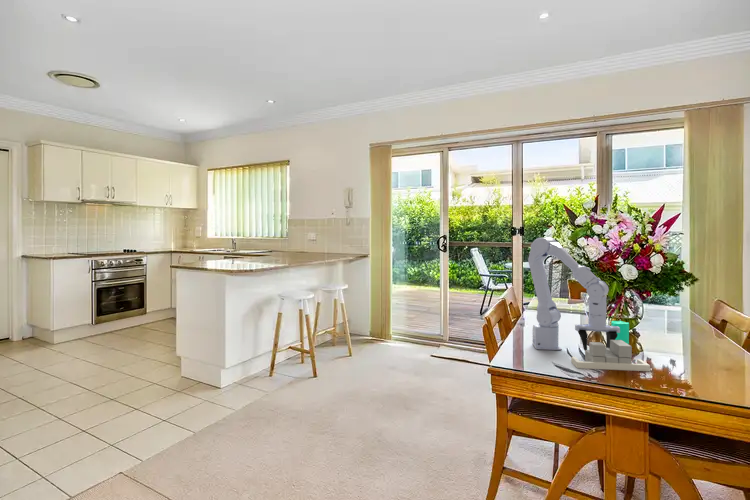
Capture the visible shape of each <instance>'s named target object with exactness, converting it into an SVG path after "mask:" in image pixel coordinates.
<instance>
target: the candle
mask: <svg viewBox="0 0 750 500" xmlns="http://www.w3.org/2000/svg"><path fill="white" fill-rule="evenodd" d="M610 323H611V324H610V326H618V327H620V333H617V338H616V339H615V340H622V341H624V342H625V343H627V344H629V345H630V323H629V322H625V321H622V320H611V322H610Z"/></svg>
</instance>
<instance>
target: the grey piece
mask: <svg viewBox="0 0 750 500" xmlns="http://www.w3.org/2000/svg"><path fill="white" fill-rule="evenodd" d="M570 362H571V364H572V365H573V366H574V367H575V368H577V369H589V370H593V369H594V370H608V371H609V370H610V371H611V370H612V371H632V372H633V371H635V372H636V371H639V372H651V365H650V364H649V363H647V362H646V361H644V360H643V359H641V358H637V359H636V363H608V362H586V361H585V360H584V361H582V360H581V361H580V360H579V359H578V358H577V357H576V356H571V360H570Z"/></svg>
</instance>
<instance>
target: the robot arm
mask: <svg viewBox="0 0 750 500" xmlns="http://www.w3.org/2000/svg"><path fill="white" fill-rule="evenodd" d="M548 256H553V257H556V258H557V259H559V260H560V261H561V262H562V263H563V264H564V265H565V266H566V267H567V268H569V269H570V271H572V277H573V278H574V279H575V280H576V282H578V283H579V284H580V285H581V286H582V287H583V288H584V289H586V293H587V296H588V318H587V319H588V320H587V321H588V323H586V324H581V323H580V324H574V330H575V331H577V332H578V334H579V337H580V340H581V342H582V349H583V351H585V350H588V336H589V335H588V333H587V332H605V337H606V338H605V339H606V342H605V343H606V345H605V346H606V348H610V340H615V339H616V338H617V333H620V327H618V326H611V325H607V295H608V293H609V286H608V284H607V283H606V282H605V281H604V280H601V278H600V277H597V276H596V275H595V274H594V273H593V272H592V271H591V270H592V269H591V268H590V267H587V266H586V265H580V264H579V263H578V262H577V261H576V260H575V259H574V258H573V257H572V256H571V255H570V253H569V252H568V251H567V250H566V249H565V248H564V247H563V246H562V245H561V243H560V242H558V241H557V240H556V239H554V238H553V237H551V236H546V237H537V238H536V239H534V240H533V242H532V243H531V244H530V250H529V254H528V258H527V260H528V265H529V270H530V273H531V278H532V282H533V286H534V290H535V294H536V298H537V301H538V302H537V306H536V321H537V322H538V324H533V326H532V342H531V344H532V346H533V347H534V348H535V349H536V350H550V351H552V350H553V351H562V347H560V346H559V323H558V322H559V321H560V320H561V318H562V314H561V312H560V310H559V309H558V306H557V304H556V303H555V301H554V300H553V297H552V295H551V290H550V284H549V282H548V276H547V273H546V270H545V269H546V268H545V265H544V261H545V260H546V259H547V257H548Z"/></svg>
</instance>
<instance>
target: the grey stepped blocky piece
mask: <svg viewBox="0 0 750 500" xmlns="http://www.w3.org/2000/svg"><path fill="white" fill-rule="evenodd" d="M588 345H589V346H588V348H589V349H587V350H584V362H608V363H632V362H633V361H632V360H633V359H632V355H633V353H632V352H633V351H632V350H633V349H632V348H633V347H632V345H631V344H630V343H629V344H627V343H625V342H624V341H622V340H610V348H606V345H605V344H604V343H603V342H600V341H599V342H598V341H597V342H596V341H589V344H588Z"/></svg>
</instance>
